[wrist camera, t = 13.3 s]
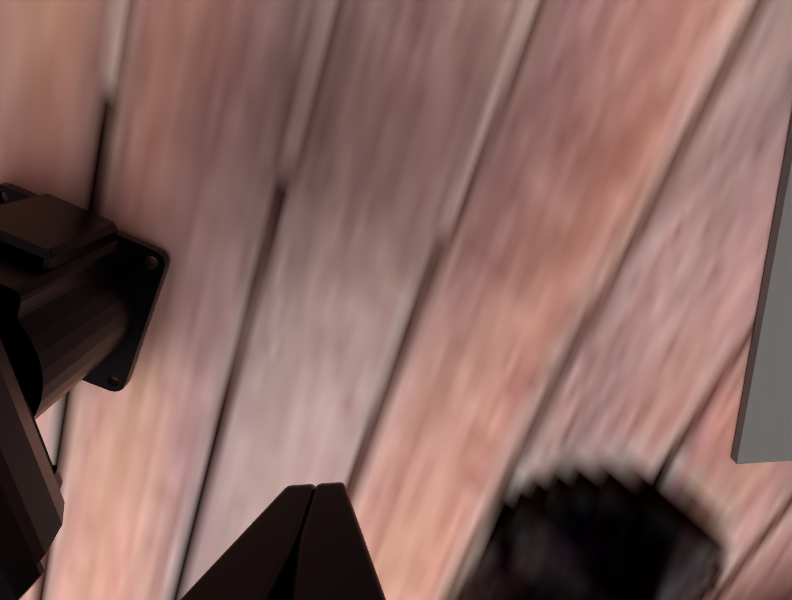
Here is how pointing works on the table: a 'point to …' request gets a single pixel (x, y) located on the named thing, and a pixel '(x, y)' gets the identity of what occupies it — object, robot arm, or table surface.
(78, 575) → the table surface
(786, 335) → the mat
